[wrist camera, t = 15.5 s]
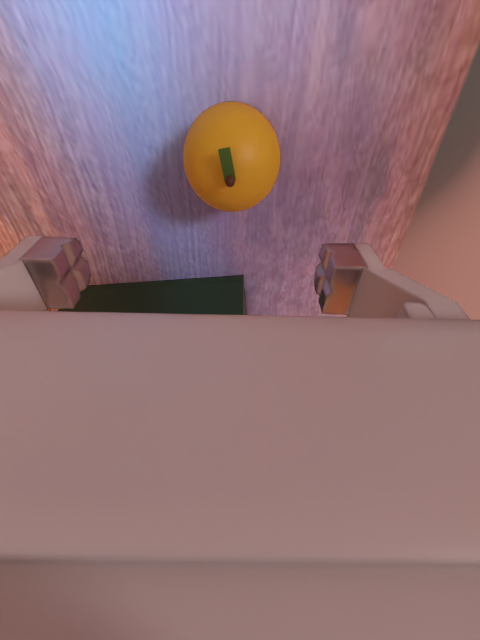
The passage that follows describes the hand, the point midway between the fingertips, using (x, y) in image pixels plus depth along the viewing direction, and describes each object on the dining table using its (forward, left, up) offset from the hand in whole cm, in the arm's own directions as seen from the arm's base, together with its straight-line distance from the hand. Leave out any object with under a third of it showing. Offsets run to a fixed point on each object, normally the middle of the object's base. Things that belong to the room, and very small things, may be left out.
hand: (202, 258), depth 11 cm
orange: (0, -1, -14) cm, 14 cm away
